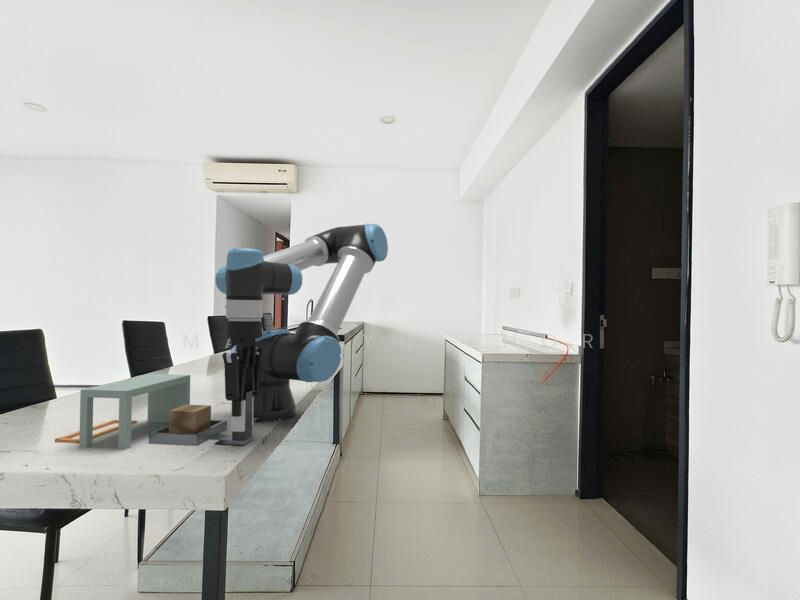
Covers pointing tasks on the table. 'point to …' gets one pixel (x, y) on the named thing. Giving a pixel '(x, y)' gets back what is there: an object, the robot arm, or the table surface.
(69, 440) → the orange rails
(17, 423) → the table surface
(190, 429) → the walnut block
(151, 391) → the tunnel
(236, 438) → the slider
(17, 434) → the table surface
